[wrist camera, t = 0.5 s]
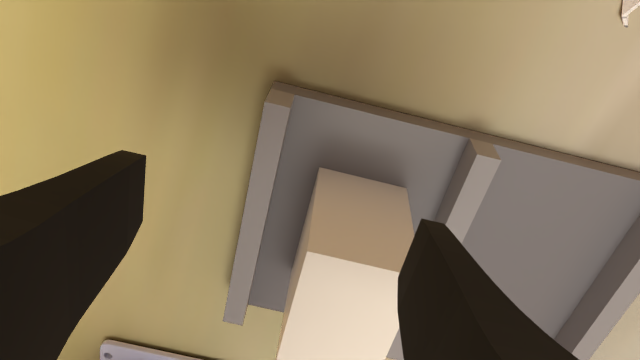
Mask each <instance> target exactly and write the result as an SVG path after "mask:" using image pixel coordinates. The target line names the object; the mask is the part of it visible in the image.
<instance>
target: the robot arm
mask: <svg viewBox="0 0 640 360" xmlns="http://www.w3.org/2000/svg"><path fill="white" fill-rule="evenodd" d="M145 167H146V156H145V155H141V154H137V153H132V152H128V151H123V150H121V151H118V152H115V153H113V154H110V155H107V156H105V157H103V158H100V159H98V160H95V161H93V162H91V163H88V164H86V165H84V166H81V167H79V168H76V169H74V170H71V171H69V172H66V173H64V174H62V175H59V176H57V177H54V178H51V179H48V180H46V181H43V182H40V183H37V184H35V185H32V186H29V187H26V188H24V189H21V190H18V191H15V192H12V193H9V194H5V195H2V196H0V360H57V358H58V356H59V354H60V352H61V351H62V349H63V347H64V345H65V343H66V342H67V340H68V338H69V336H70V334H71V333H72V331H73V330H74V328H75V327H76V325H77V324H78V322H79V320H80V319H81V317H82V316H83V315H84V313H85V312H86V310H87V309H88V308H89V306H90V305H91V303H92V302H93V300H94V299H95V298H96V296H97V295H98V293H99V292H100V291H101V289H102V288H103V286H104V285H105V283H106V282H107V281H108V279H109V278H110V276H111V275H112V273H113V272H114V271H115V269H116V268H117V266H118V265H119V263H120V262H121V260H122V259H123V258H124V256H125V255H126V253H127V251H128V249H129V247H130V246H131V244H132V242H133V240H134V238H135V236H136V234H137V232H138V230H139V228H140V225H141V223H142V221H143V204H144V185H145ZM397 311H398V320H399V328H400V336H401V343H402V350H403V358H404V360H579V359H578V358H577V357H575V356H574V355H573V354H571V353H570V352H569V351H568V350H566V349H565V348H564V347H562V346H561V345H560V344H559V343H557V342H556V341H555V340H554V339H552V338H551V337H550V336H549V335H548V334H546V333H545V332H544V331H543V330H542V329H541V328H540V327H539V326H538V325H536V324H535V323H534V322H533V321H532V320H531V319H530V318H529V317H528V316H526V315H525V314H524V313H523V312H522V311H521V310H520V309H519V308H518V307H517V306H516V305H515V304H514V303H513V302H512V301H511V300H510V299H509V298H508V297H507V296H506V295H505V294H504V293H503V291H502V290H501V289H500V288H499V287H498V286H497V285H496V284H495V283H494V282H493V281H492V279H491V278H490V277H489V276H488V275H487V274H486V273H485V272H484V270H483V269H482V268H481V267H480V266H479V264H478V263H477V262H476V261H475V260H474V258H473V257H472V256H471V255H470V254H469V252H468V251H467V250H466V249H465V247H464V246H463V245H462V244H461V243H460V241H459V240H458V239H457V238H456V236H455V235H454V234H453V233H452V232H451V231H450V229H449V228H448V227H447V226H446V225H445V224H444V223H440V222H435V221H431V220H426V219H422V218H421V220H420V223H419V225H418V228H417V231H416V233H415V236H414V238H413V241H412V243H411V246H410V248H409V251H408V253H407V256H406V258H405V261H404V263H403V266H402V268H401V271H400V273H399V276H398V291H397ZM100 360H202V359H197V358H193V357H188V356H183V355H179V354H174V353H170V352H165V351H160V350H156V349H151V348H146V347H142V346H137V345H133V344H128V343H123V342H119V341H114V340H105V341H103V343H102V344H101V346H100Z"/></svg>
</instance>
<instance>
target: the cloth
mask: <svg viewBox="0 0 640 360" xmlns="http://www.w3.org/2000/svg"><path fill="white" fill-rule="evenodd" d="M639 5H640V0H623V5H622V21H623V25H624V26H625V27H628V14H629V13H631V12H632V11H633V10H634V9H635V8H637V7H638V6H639Z"/></svg>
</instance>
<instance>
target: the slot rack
mask: <svg viewBox="0 0 640 360" xmlns="http://www.w3.org/2000/svg"><path fill="white" fill-rule="evenodd" d="M319 167H321V168H325V169H329V170H333V171H337V172H341V173H346V174H350V175H354V176H358V177H362V178H366V179H370V180H374V181H379V182H383V183H387V184H391V185H395V186H399V187H403V188H407V194H408V200H409V206H410V212H411V218H412V224H413V230H414V236H415V233H416V231H417V228H418V225H419V223H420V220H421V218H422V219H426V220H431V221H435V222H440V223H444V224H445V225H446V226H447V227H448V228H449V229H450V231H451V232H452V233H453V234H454V235H455V236H456V238H457V239H458V240H459V241H460V243H461V244H462V245H463V246H464V247H465V249H466V250H467V251H468V252H469V254H470V255H471V256H472V257H473V258H474V260H475V261H476V262H477V263H478V264H479V266H480V267H481V268H482V269H483V270H484V272H485V273H486V274H487V275H488V276H489V277H490V278H491V279H492V281H493V282H494V283H495V284H496V285H497V286H498V287H499V288H500V289H501V290H502V291H503V293H504V294H505V295H506V296H507V297H508V298H509V299H510V300H511V301H512V302H513V303H514V304H515V305H516V306H517V307H518V308H519V309H520V310H521V311H522V312H523V313H524V314H525V315H526V316H528V317H529V318H530V319H531V320H532V321H533V322H534V323H535V324H536V325H538V326H539V327H540V328H541V329H542V330H543V331H544V332H545V333H546V334H548V335H549V336H550V337H551V338H552V339H554V340H555V341H556V342H557V343H559V344H560V345H561V346H562V347H564V348H565V349H566V350H568V351H569V352H570V353H571V354H573V355H574V356H575V357H577V358H578V359H579V360H589V359H590V358H591V357H592V355H593V354H594V353H595V351H596V350H597V349H598V347H599V346H600V345H601V343H602V342H603V341H604V339H605V338H606V337H607V335H608V334H609V333H610V332H611V330H612V329H613V328H614V326H615V325H616V324H617V322H618V321H619V320H620V318H621V317H622V316H623V314H624V313H625V312H626V310H627V309H628V308H629V306H630V305H631V304H632V302H633V301H634V300H635V299H636V297H637V296H638V295H639V293H640V172H636V171H632V170H628V169H624V168H620V167H616V166H612V165H608V164H604V163H600V162H596V161H592V160H588V159H584V158H580V157H576V156H572V155H568V154H564V153H560V152H556V151H552V150H548V149H544V148H540V147H536V146H532V145H528V144H524V143H520V142H516V141H512V140H508V139H504V138H500V137H496V136H492V135H488V134H484V133H480V132H476V131H472V130H468V129H465V128H461V127H457V126H453V125H449V124H445V123H441V122H437V121H433V120H429V119H425V118H421V117H417V116H413V115H409V114H405V113H401V112H397V111H393V110H389V109H385V108H381V107H377V106H373V105H369V104H365V103H361V102H357V101H353V100H349V99H345V98H341V97H337V96H333V95H329V94H325V93H321V92H317V91H313V90H309V89H305V88H301V87H297V86H293V85H289V84H285V83H281V82H277V81H274V83H273V85H272V87H271V89H270V91H269V93H268V96H267V98H266V100H265V103H264V108H263V113H262V118H261V124H260V129H259V134H258V139H257V145H256V150H255V155H254V160H253V165H252V171H251V176H250V181H249V186H248V192H247V197H246V202H245V207H244V213H243V218H242V223H241V228H240V234H239V239H238V244H237V249H236V255H235V260H234V265H233V270H232V276H231V281H230V286H229V291H228V297H227V302H226V307H225V312H224V318H223V321H224V322H228V323H233V324H237V325H243V321H244V318H245V314H246V310H247V307H248V304H249V305H253V306H258V307H262V308H267V309H271V310H275V311H280V312H284V310H285V304H286V299H287V293H288V288H289V282H290V277H291V271H292V267H293V263H294V259H295V256H296V252H297V248H298V245H299V241H300V237H301V233H302V230H303V226H304V222H305V219H306V215H307V211H308V207H309V204H310V200H311V196H312V193H313V189H314V185H315V181H316V178H317V174H318V170H319ZM386 357H387V358H391V359H396V360H404V358H403V350H402V343H401V336H400V328H399V329H398V331H397V334H396V336H395V338H394V340H393V343H392V345H391V347H390V349H389V352H388V354H387V356H386Z"/></svg>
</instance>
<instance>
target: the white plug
mask: <svg viewBox="0 0 640 360" xmlns="http://www.w3.org/2000/svg"><path fill="white" fill-rule="evenodd" d="M413 238H414V230H413V224H412V218H411V212H410V206H409V200H408V194H407V188H403V187H399V186H395V185H391V184H387V183H383V182H379V181H374V180H370V179H366V178H362V177H358V176H354V175H350V174H346V173H341V172H337V171H333V170H329V169H325V168H321V167H319V170H318V174H317V178H316V181H315V185H314V189H313V193H312V196H311V200H310V204H309V207H308V211H307V215H306V219H305V222H304V226H303V230H302V233H301V237H300V241H299V245H298V248H297V252H296V256H295V259H294V263H293V267H292V271H291V277H290V282H289V288H288V293H287V299H286V304H285V310H284V315H283V321H282V327H281V332H280V338H279V343H278V349H277V354H276V360H385V358H386V356H387V354H388V352H389V349H390V347H391V345H392V343H393V340H394V338H395V336H396V334H397V331H398V329H399V320H398V311H397V291H398V276H399V273H400V271H401V268H402V266H403V263H404V261H405V258H406V256H407V253H408V251H409V248H410V246H411V243H412V241H413Z"/></svg>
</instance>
